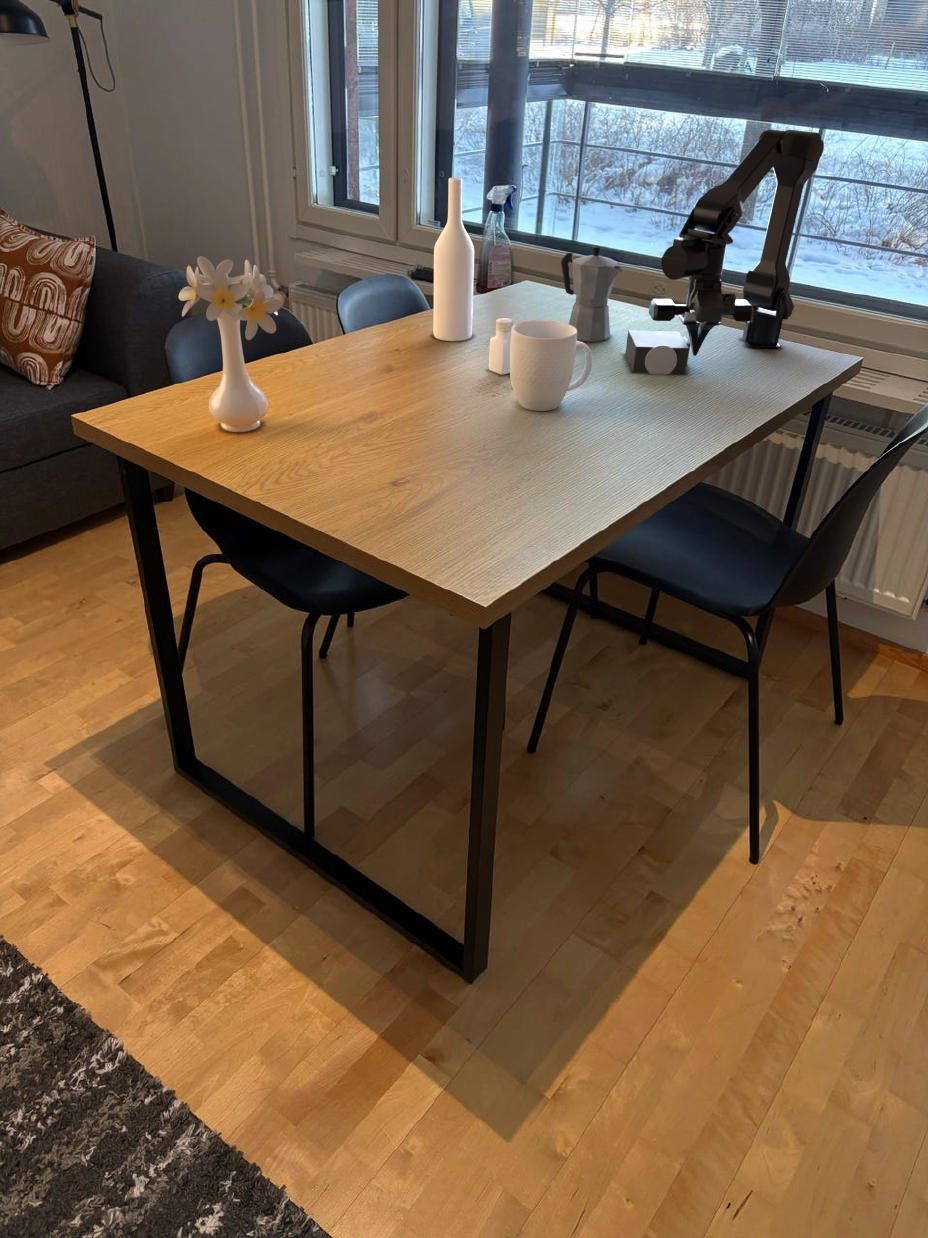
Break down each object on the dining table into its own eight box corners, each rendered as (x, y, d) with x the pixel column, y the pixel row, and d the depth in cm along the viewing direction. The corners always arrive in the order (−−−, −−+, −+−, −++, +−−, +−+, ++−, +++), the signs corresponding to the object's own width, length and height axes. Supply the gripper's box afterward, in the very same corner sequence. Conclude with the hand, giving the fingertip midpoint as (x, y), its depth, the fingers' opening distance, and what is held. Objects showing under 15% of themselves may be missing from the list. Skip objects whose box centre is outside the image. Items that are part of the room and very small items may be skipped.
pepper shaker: (501, 376, 169) (504, 324, 164) (487, 370, 172) (489, 319, 167) (517, 371, 172) (520, 321, 166) (502, 366, 174) (505, 316, 169)
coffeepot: (626, 338, 192) (637, 248, 182) (598, 347, 186) (608, 254, 176) (570, 322, 201) (578, 235, 191) (542, 330, 195) (548, 241, 185)
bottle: (425, 336, 189) (426, 178, 172) (448, 328, 195) (450, 173, 178) (457, 343, 185) (460, 182, 169) (479, 335, 191) (484, 178, 174)
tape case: (674, 358, 182) (679, 328, 179) (684, 377, 173) (690, 345, 170) (624, 357, 182) (628, 327, 179) (632, 375, 173) (636, 344, 170)
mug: (573, 389, 164) (580, 316, 157) (601, 410, 156) (610, 333, 149) (497, 397, 160) (501, 322, 153) (522, 419, 151) (527, 340, 144)
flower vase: (255, 452, 137) (237, 281, 123) (175, 423, 146) (149, 260, 132) (315, 427, 146) (304, 265, 132) (236, 401, 155) (218, 246, 141)
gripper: (663, 281, 161) (653, 368, 170) (768, 282, 161) (752, 368, 170) (653, 267, 170) (643, 350, 179) (752, 267, 170) (738, 350, 179)
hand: (694, 355), depth 176 cm, fingers closed
